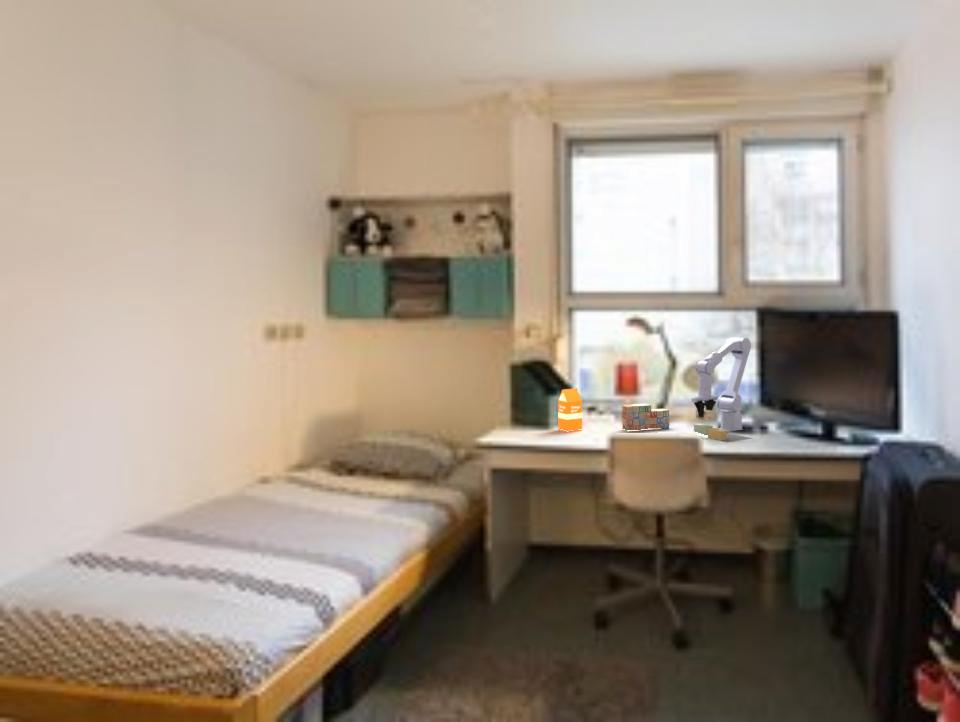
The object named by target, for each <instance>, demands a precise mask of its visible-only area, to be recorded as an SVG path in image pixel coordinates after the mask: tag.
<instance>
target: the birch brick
mask: <svg viewBox="0 0 960 722" xmlns="http://www.w3.org/2000/svg"><path fill="white" fill-rule="evenodd" d="M715 415H716V412H715V410H712V411H711V410H706V408H704V416H703V417H699V414H698V411H697V409H695V419H697V420H701V421H702V420H703V421H715V420H716V418H715V417H716V416H715Z"/></svg>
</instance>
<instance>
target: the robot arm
mask: <svg viewBox="0 0 960 722" xmlns="http://www.w3.org/2000/svg"><path fill="white" fill-rule="evenodd" d="M751 348H752V343H751V341H750V339H749V338H748V337H734V336H730V337H728V339H726V340H725V343H724V344H723V346H722V347H721V348H719V350H717V351H712V352H710V354H709V355H708V356H707V357H705V358H704V360H700V361H698V362H697V364H696V366H695V371H696V375H697V378H698V396H695V397H691V403H693V404H694V406H695V408H696V410H697V411H698V414H699V417H703V416H704V409H706V410H711V411H713V409H714V407H715V405H716V406H717V408H718V409H719V412H720V427H719V428H717V427H716V428H717V429H723V430H727V433H730V432H735V431H736V432H737V431H741V430H742V431H743V430H744V429H743V427H742V426H743V423H742V422H743V416H742V413H741V412H740V411H739V410H740V409H741V406H742V403H741V402H742V397H741V395H740V394H739V391H740V388H741V383H742V379H743V378H744V377H743V376H744V373H745V370H746V366H747V363H748V357H749V355H750V352H751ZM729 353H730V354H731V355H732V356H733V357H734V362H733V365H732V369H731V372H730V375H729V380H728V383H727V386H726V389H725V390H723V391H722V392H721V393H720V396H719V395H716V394H714V395H713V394H712V374H713V373H714V371H715V369H716V367H717V366H719V364H721V363H722V361H723V358H724V357H725V356H727V355H728V354H729Z"/></svg>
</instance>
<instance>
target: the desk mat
mask: <svg viewBox="0 0 960 722" xmlns="http://www.w3.org/2000/svg"><path fill="white" fill-rule="evenodd" d="M708 439H709V440H714V441H719V442H723V443H731V442H739V441H745V440H750V439H754V438H753V437H749V436H744V435H739V434H735V433H730V432H727V439H726V440H717V439H712V438H708Z"/></svg>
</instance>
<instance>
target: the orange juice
mask: <svg viewBox="0 0 960 722" xmlns="http://www.w3.org/2000/svg"><path fill="white" fill-rule="evenodd" d="M557 406H558V407H557V411H558V412H557V415H558V416H557V418H558V424H557V425H558V427H557V428H558V429H559V428H560V429H563V430H566V431H569V430H578V429H582V430H583V400H582V397H581V396H580V393H579V390H578V388H577V387H576V388H575V387H574V388H566V389H562V390H561V393H560V394H559V397H558V399H557Z"/></svg>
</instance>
